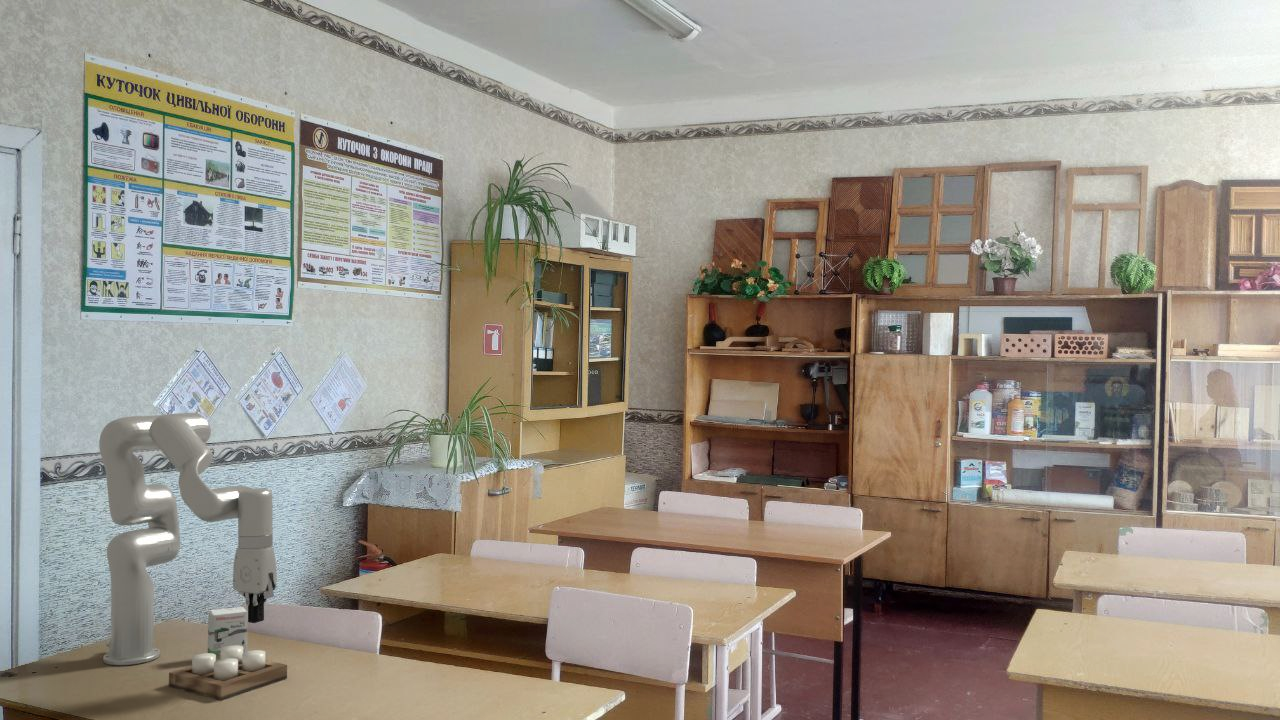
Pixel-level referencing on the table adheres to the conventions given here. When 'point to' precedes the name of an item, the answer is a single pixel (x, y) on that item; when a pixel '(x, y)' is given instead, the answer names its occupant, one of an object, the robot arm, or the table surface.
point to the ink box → (227, 629)
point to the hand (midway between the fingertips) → (256, 621)
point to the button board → (227, 681)
